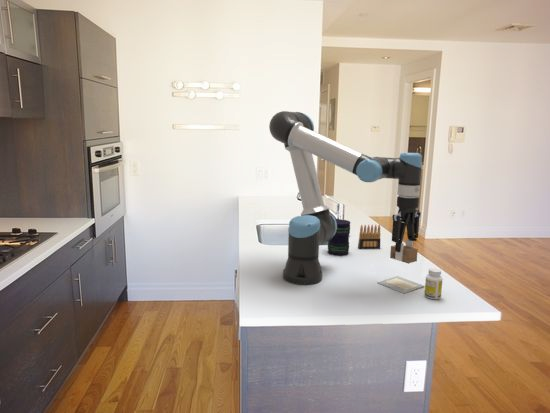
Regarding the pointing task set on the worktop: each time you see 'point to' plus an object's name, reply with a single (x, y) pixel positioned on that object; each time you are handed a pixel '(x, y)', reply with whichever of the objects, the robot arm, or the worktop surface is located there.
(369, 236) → the ammunition clip
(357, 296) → the worktop surface
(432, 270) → the supplement bottle
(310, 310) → the worktop surface
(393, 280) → the mat
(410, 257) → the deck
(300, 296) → the worktop surface
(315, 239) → the robot arm
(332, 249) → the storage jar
